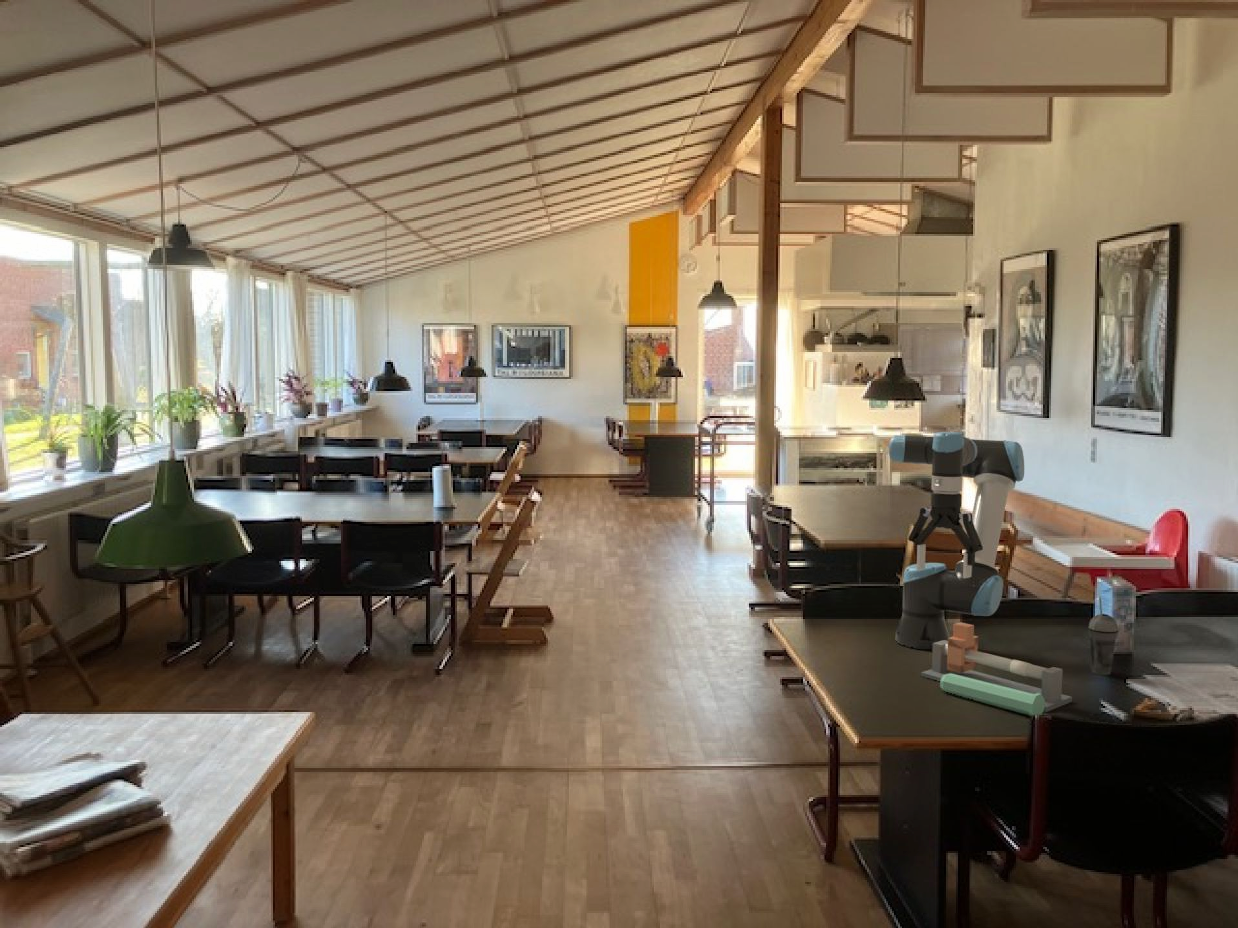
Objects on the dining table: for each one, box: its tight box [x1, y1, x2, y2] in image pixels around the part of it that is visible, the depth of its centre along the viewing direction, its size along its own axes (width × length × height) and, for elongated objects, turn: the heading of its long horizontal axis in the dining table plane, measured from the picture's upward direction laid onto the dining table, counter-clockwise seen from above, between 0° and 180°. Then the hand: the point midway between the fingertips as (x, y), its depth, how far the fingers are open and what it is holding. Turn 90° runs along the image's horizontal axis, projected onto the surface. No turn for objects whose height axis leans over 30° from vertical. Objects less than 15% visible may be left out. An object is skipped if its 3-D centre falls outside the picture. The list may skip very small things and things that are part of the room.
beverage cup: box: [1087, 597, 1119, 676], centre depth 265 cm, size 7×7×20 cm
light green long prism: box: [939, 673, 1045, 717], centre depth 242 cm, size 6×6×25 cm
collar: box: [947, 622, 979, 673], centre depth 258 cm, size 4×7×12 cm, turn 129°
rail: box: [920, 640, 1073, 713], centre depth 252 cm, size 34×12×9 cm, turn 39°
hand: (943, 573), depth 262 cm, fingers open, 13 cm apart
